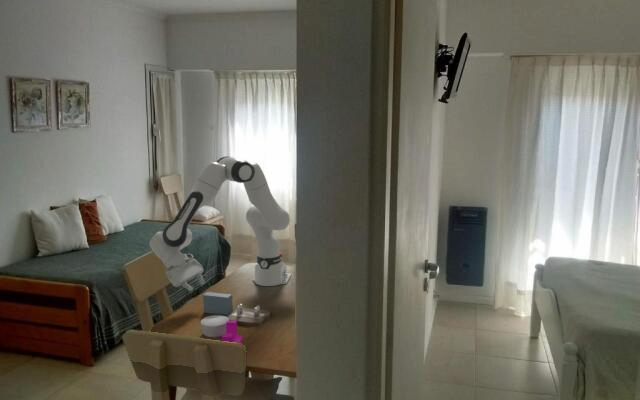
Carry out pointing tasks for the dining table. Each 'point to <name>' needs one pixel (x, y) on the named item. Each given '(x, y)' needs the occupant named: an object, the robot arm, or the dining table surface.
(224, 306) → the slate block
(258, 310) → the peg stand
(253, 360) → the dining table surface
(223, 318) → the ramekin
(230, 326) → the toy block
